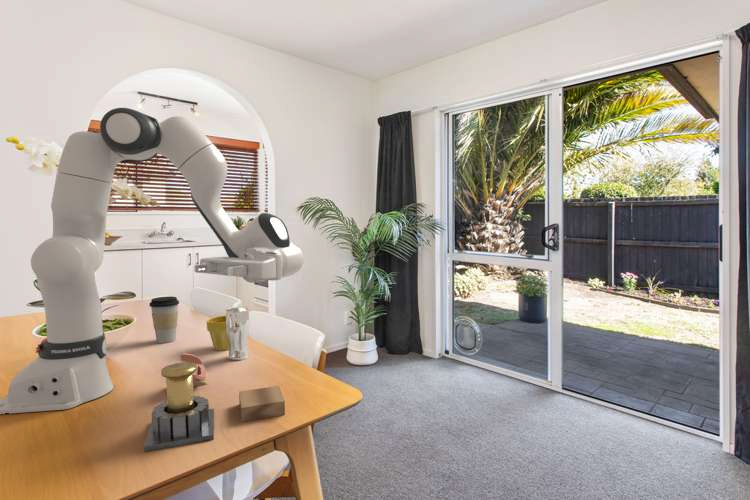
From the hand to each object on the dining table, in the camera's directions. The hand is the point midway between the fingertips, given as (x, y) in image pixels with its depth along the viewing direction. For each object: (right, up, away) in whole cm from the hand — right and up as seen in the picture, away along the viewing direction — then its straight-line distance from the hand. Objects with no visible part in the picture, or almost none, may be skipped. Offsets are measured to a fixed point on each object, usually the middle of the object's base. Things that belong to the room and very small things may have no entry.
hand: (210, 270), depth 95 cm
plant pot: (-13, -28, +45) cm, 55 cm away
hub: (-2, -32, -9) cm, 33 cm away
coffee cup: (-36, -28, +53) cm, 70 cm away
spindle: (-2, -31, -10) cm, 32 cm away
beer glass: (-5, -29, +35) cm, 46 cm away
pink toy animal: (-10, -31, +12) cm, 34 cm away
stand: (+11, -31, 0) cm, 33 cm away
